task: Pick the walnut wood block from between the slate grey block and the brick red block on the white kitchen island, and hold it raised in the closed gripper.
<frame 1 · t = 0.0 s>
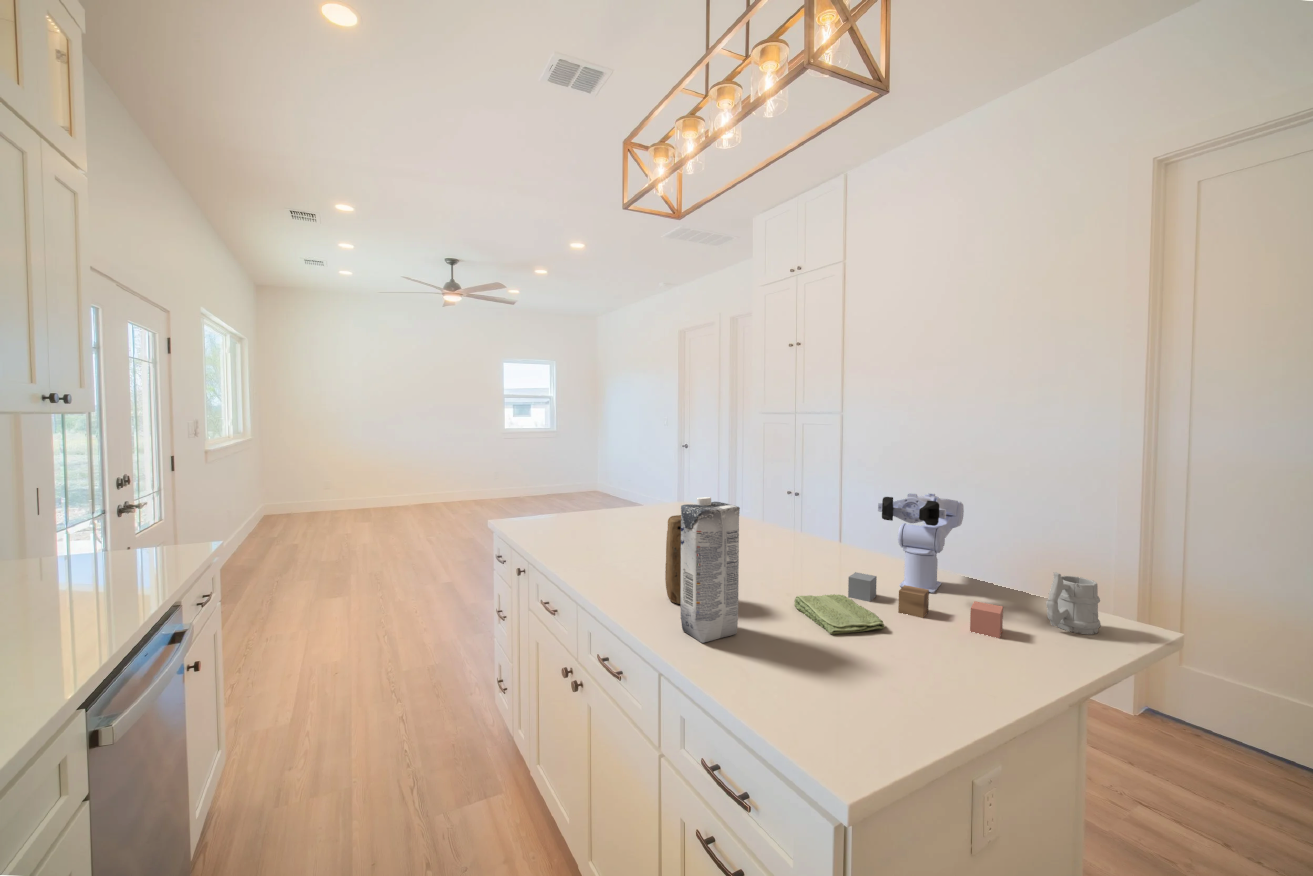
hand: (902, 512, 118), 22 cm above the counter, tool horizontal, fingers open, 7 cm apart
juice carton: (709, 634, 105), on the counter
brick red block: (986, 631, 106), on the counter
mug: (1068, 629, 108), on the counter
washcloth: (836, 620, 113), on the counter
walnut block: (913, 612, 117), on the counter
slate grey block: (862, 597, 126), on the counter
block: (689, 600, 124), on the counter
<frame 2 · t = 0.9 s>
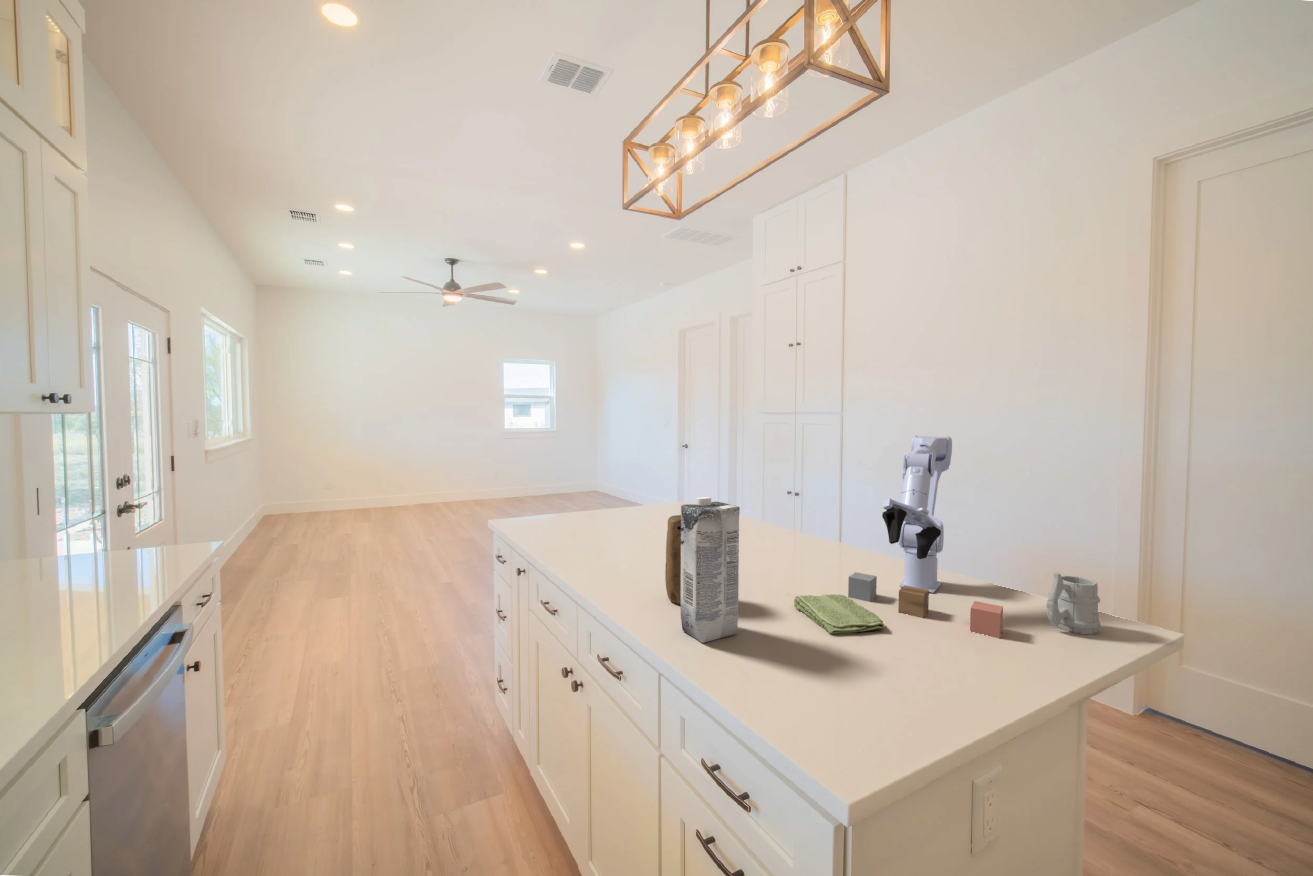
hand: (907, 550, 116), 14 cm above the counter, tool tilted 40°, fingers open, 7 cm apart
nothing on the counter moved.
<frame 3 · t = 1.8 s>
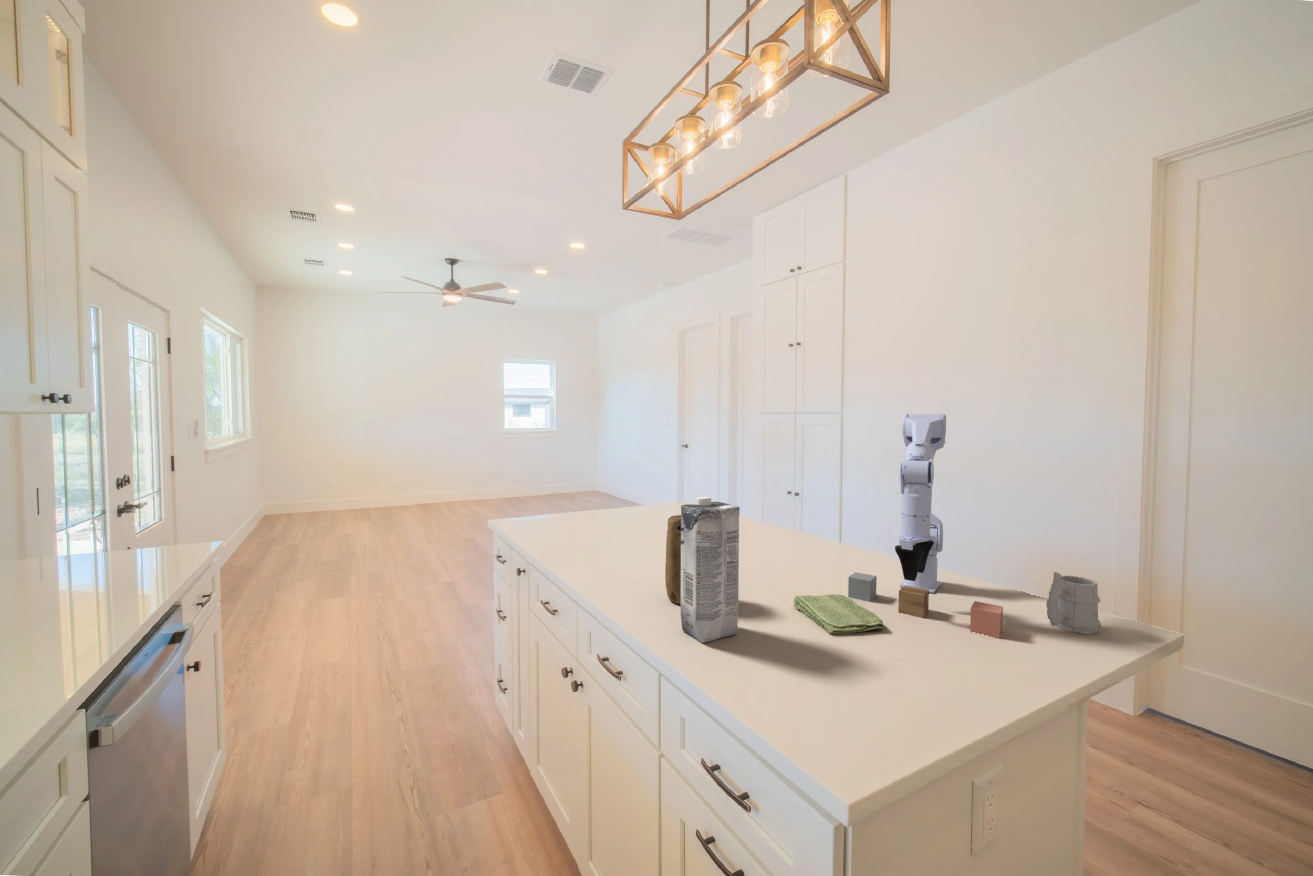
hand: (914, 575, 116), 8 cm above the counter, tool pointing down, fingers open, 7 cm apart
nothing on the counter moved.
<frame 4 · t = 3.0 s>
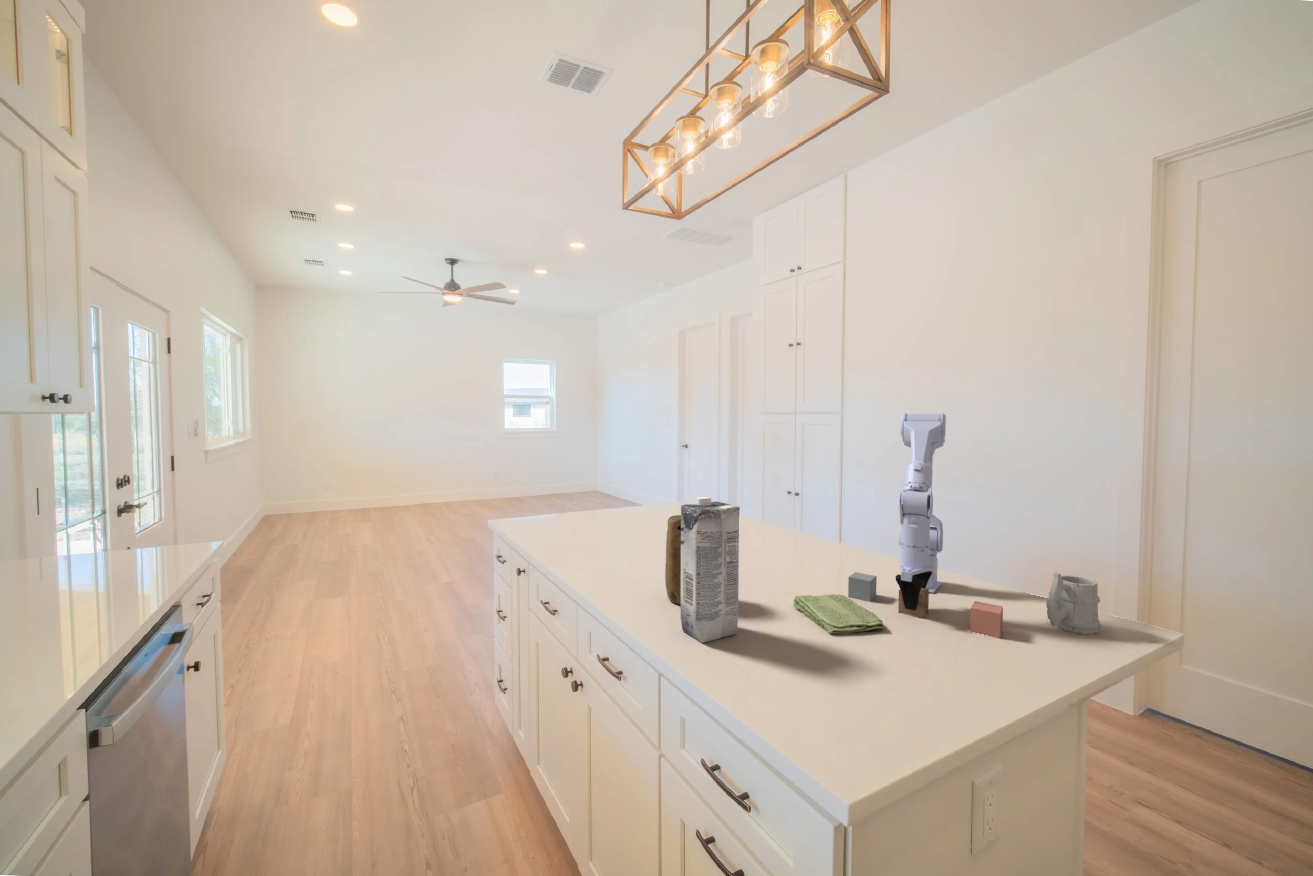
hand: (913, 605, 116), 1 cm above the counter, tool pointing down, fingers closed on walnut block, 5 cm apart
walnut block: (913, 612, 117), on the counter, touching gripper
everything else where it was.
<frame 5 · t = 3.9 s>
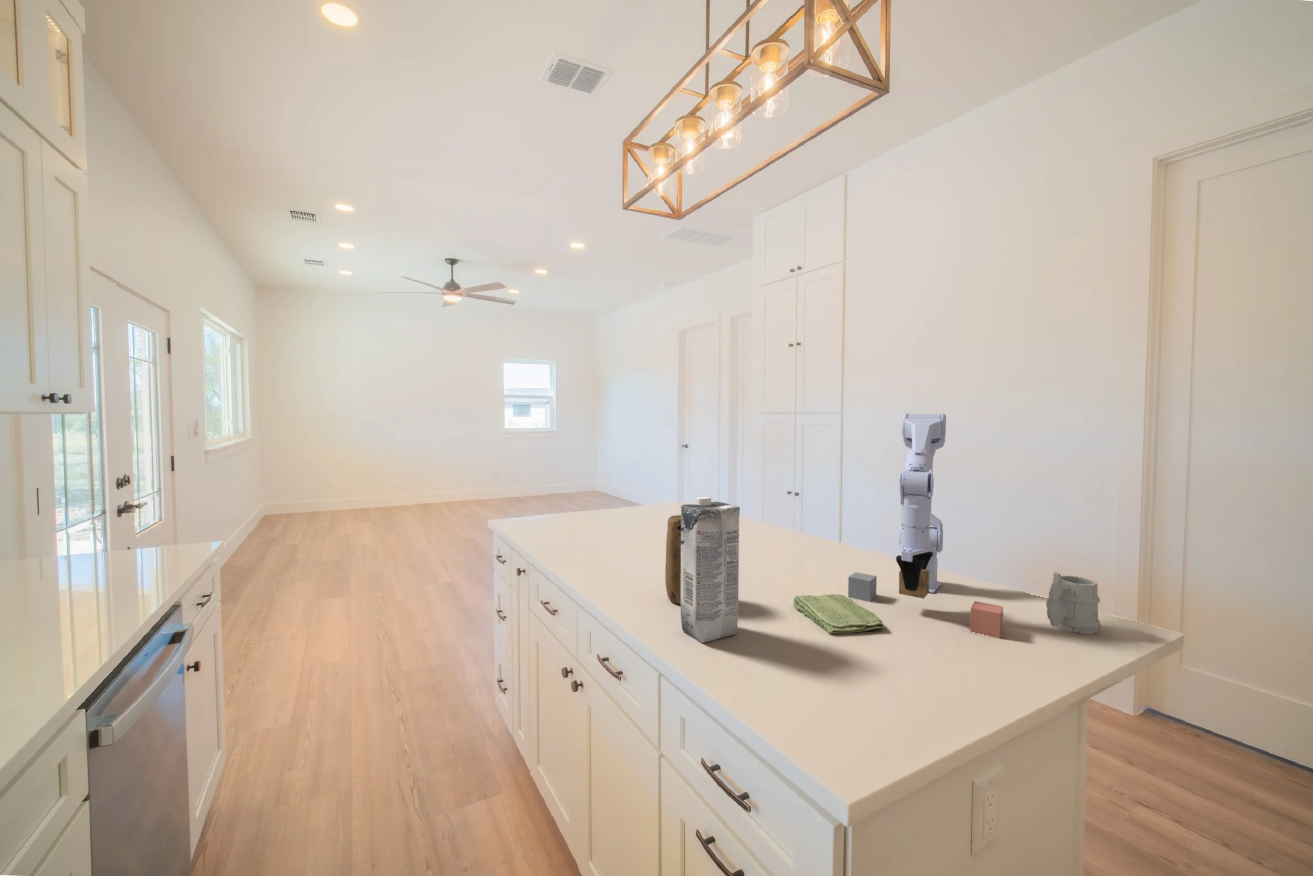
hand: (914, 586, 116), 6 cm above the counter, tool pointing down, fingers closed on walnut block, 5 cm apart
walnut block: (913, 593, 116), point 4 cm above the counter, touching gripper
everything else where it was.
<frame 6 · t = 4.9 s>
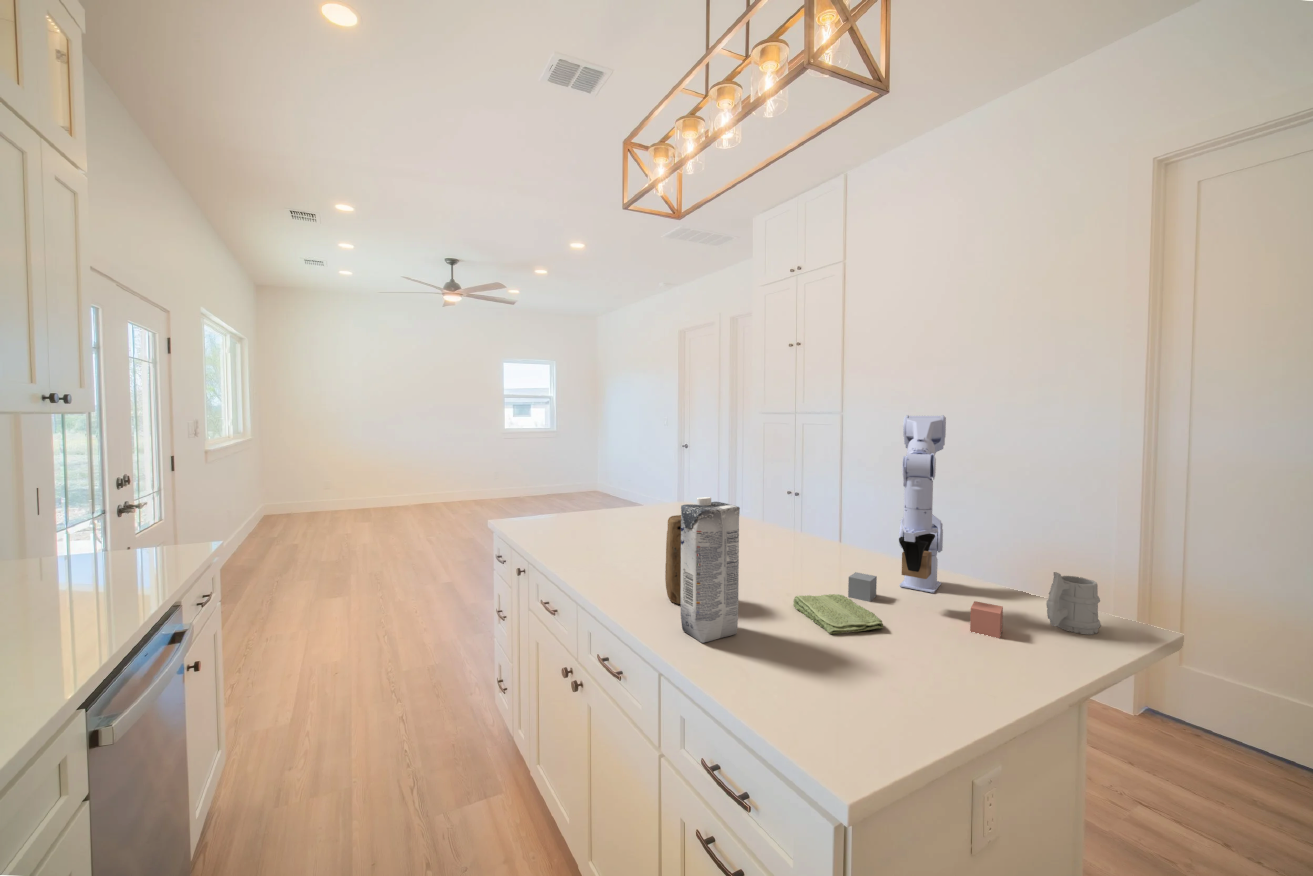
hand: (916, 567, 118), 9 cm above the counter, tool pointing down, fingers closed on walnut block, 5 cm apart
walnut block: (916, 574, 118), point 8 cm above the counter, touching gripper
everything else where it was.
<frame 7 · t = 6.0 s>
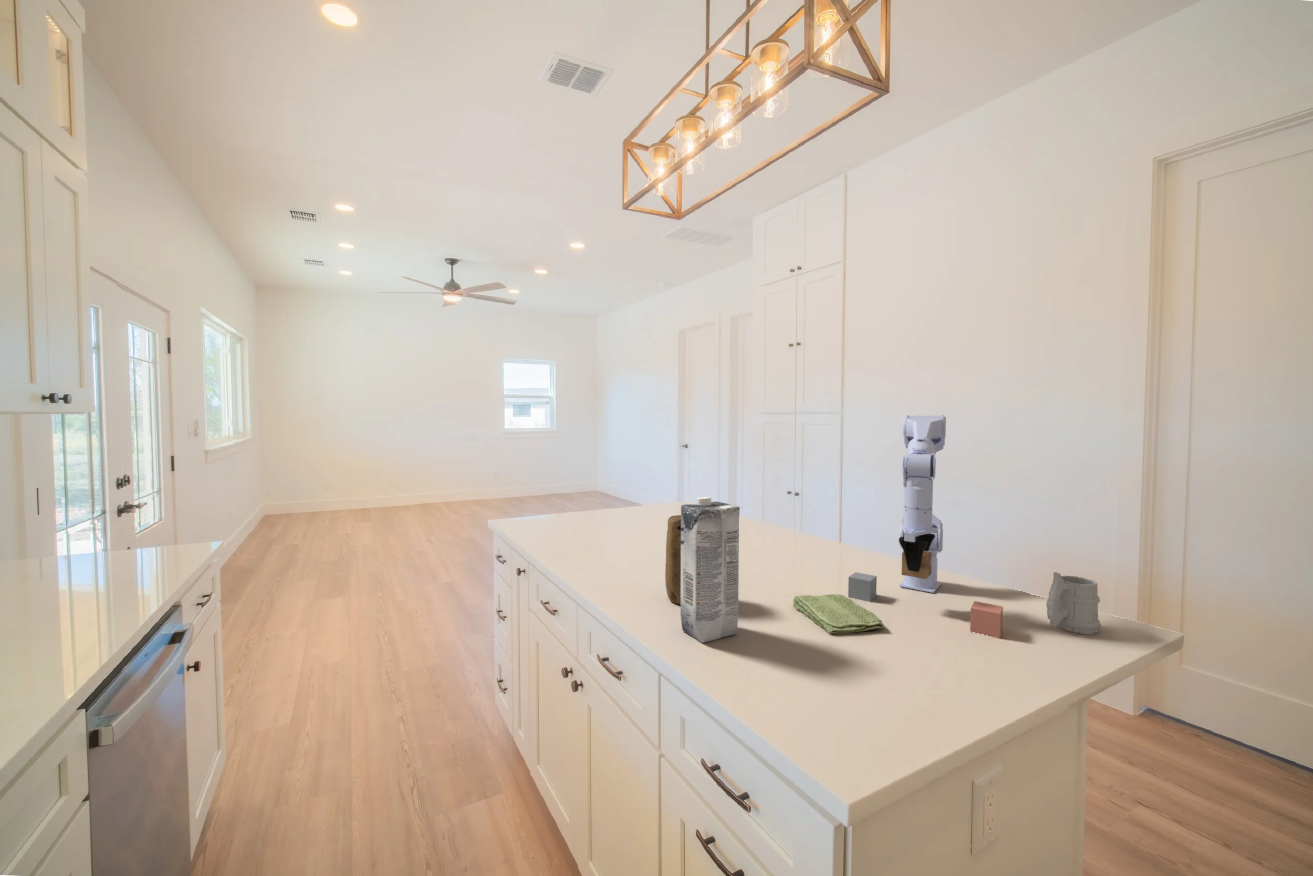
hand: (916, 567, 118), 9 cm above the counter, tool pointing down, fingers closed on walnut block, 5 cm apart
walnut block: (916, 574, 118), point 8 cm above the counter, touching gripper
everything else where it was.
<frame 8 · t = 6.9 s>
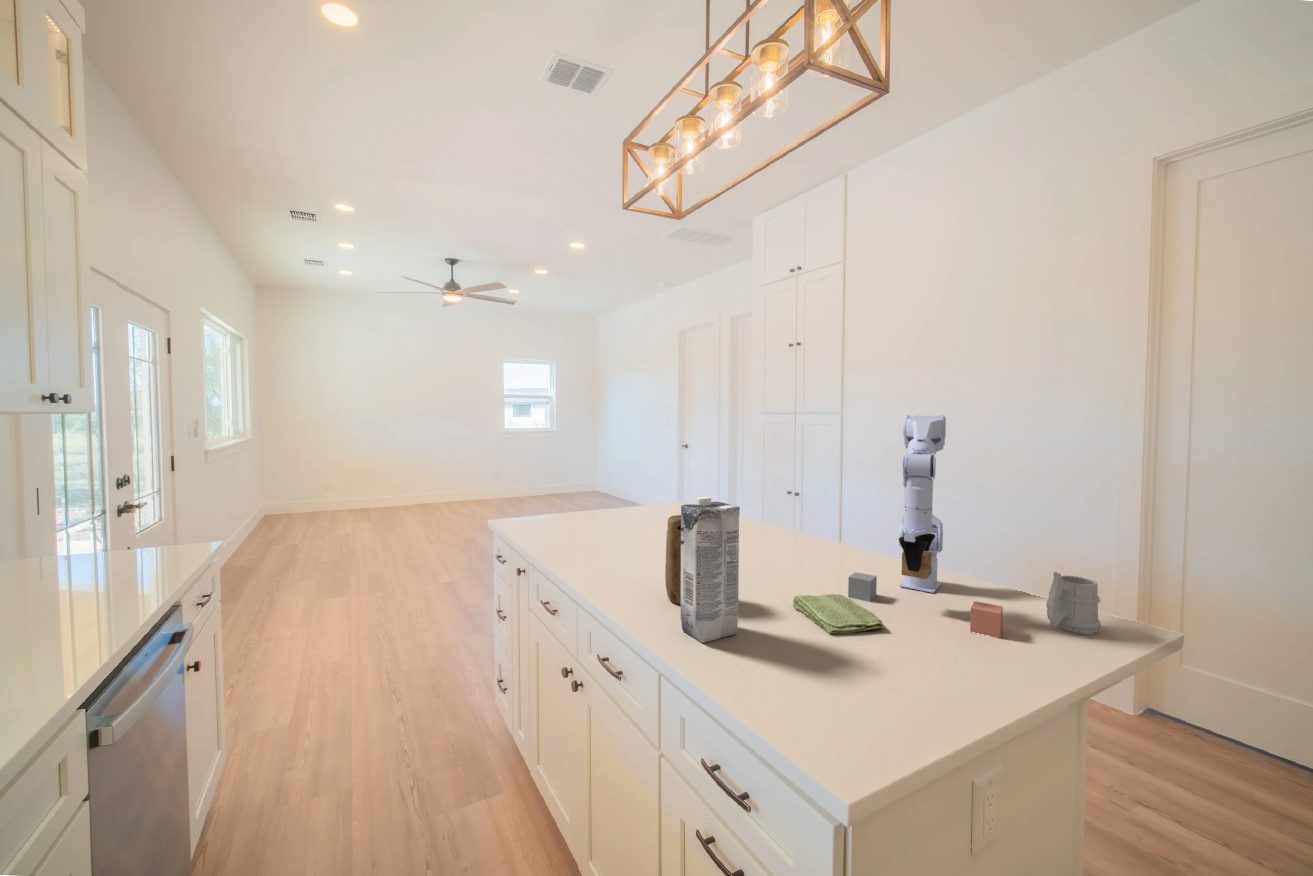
hand: (916, 567, 118), 9 cm above the counter, tool pointing down, fingers closed on walnut block, 5 cm apart
walnut block: (916, 574, 118), point 8 cm above the counter, touching gripper
everything else where it was.
at the end: the gripper is holding walnut block; walnut block point 7.9 cm above the counter; slate grey block moved 0.1 cm from its start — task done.
